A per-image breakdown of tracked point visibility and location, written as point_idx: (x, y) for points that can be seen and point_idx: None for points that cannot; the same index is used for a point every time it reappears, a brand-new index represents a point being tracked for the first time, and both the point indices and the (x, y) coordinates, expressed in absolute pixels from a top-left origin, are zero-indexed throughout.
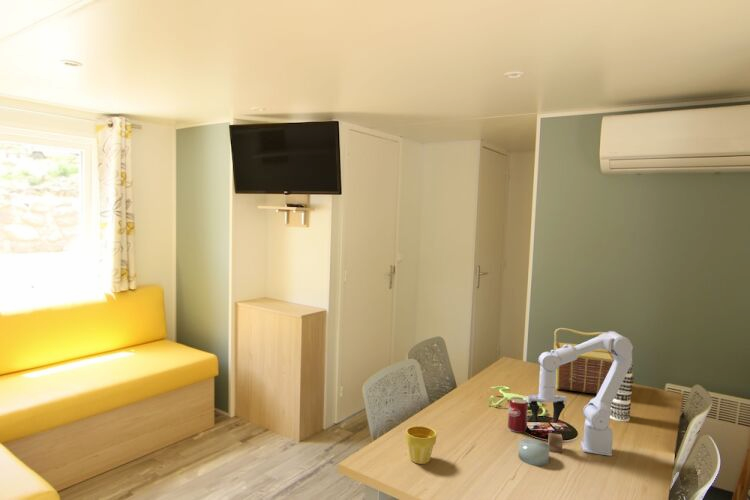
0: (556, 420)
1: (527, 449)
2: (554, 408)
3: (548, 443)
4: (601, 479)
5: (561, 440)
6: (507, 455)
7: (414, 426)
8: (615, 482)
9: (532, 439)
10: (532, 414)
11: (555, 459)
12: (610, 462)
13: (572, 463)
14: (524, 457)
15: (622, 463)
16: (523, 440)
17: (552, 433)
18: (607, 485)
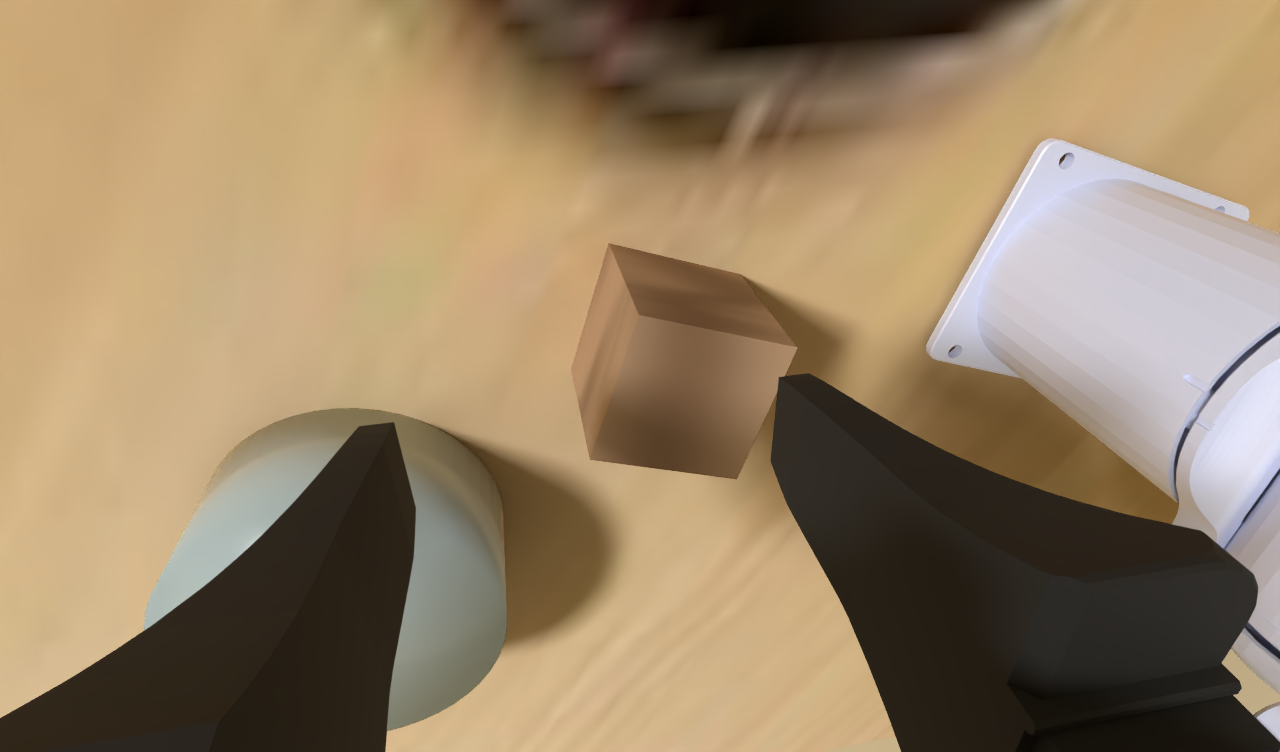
0: (791, 491)
1: None
2: (903, 547)
3: (599, 321)
4: (787, 672)
5: (719, 471)
6: (69, 516)
7: None
8: (853, 680)
9: None
10: (307, 487)
11: (576, 505)
12: (1016, 475)
13: (699, 538)
14: None
15: (1092, 474)
16: (203, 571)
17: (687, 329)
18: (782, 714)
